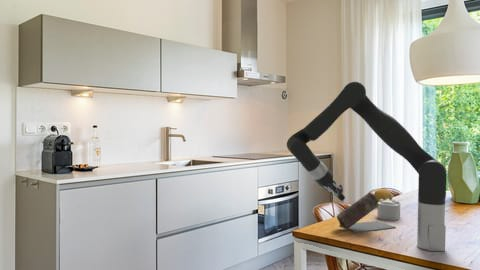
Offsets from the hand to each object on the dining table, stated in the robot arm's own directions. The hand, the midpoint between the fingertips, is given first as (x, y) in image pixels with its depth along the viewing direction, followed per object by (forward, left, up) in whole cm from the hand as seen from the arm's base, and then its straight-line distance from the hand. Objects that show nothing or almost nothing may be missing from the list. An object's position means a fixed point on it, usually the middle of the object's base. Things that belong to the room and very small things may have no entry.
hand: (342, 199), depth 168 cm
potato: (+52, -40, -14) cm, 67 cm away
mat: (+5, -13, -14) cm, 20 cm away
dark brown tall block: (0, +1, -11) cm, 11 cm away
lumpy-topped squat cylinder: (+25, -32, -14) cm, 43 cm away
